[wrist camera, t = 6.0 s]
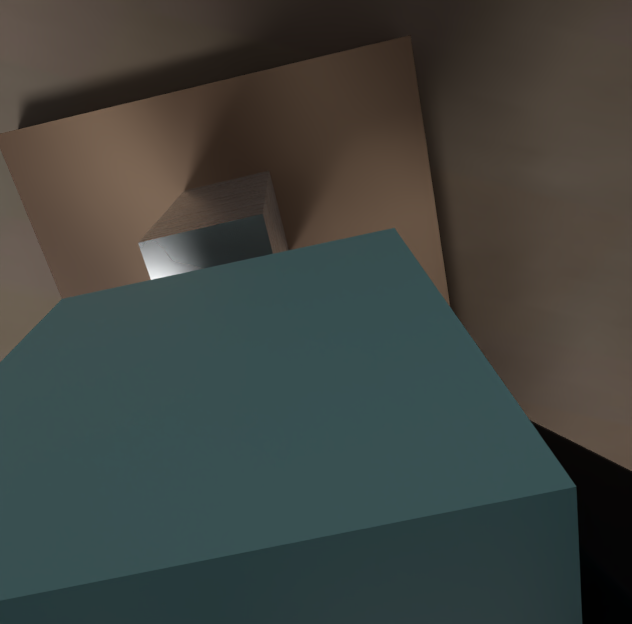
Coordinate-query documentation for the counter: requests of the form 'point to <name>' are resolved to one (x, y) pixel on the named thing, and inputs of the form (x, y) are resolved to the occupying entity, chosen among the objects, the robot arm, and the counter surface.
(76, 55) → the counter surface
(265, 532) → the pale teal cube
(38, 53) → the counter surface
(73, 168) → the board
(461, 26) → the counter surface
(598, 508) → the robot arm
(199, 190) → the post
